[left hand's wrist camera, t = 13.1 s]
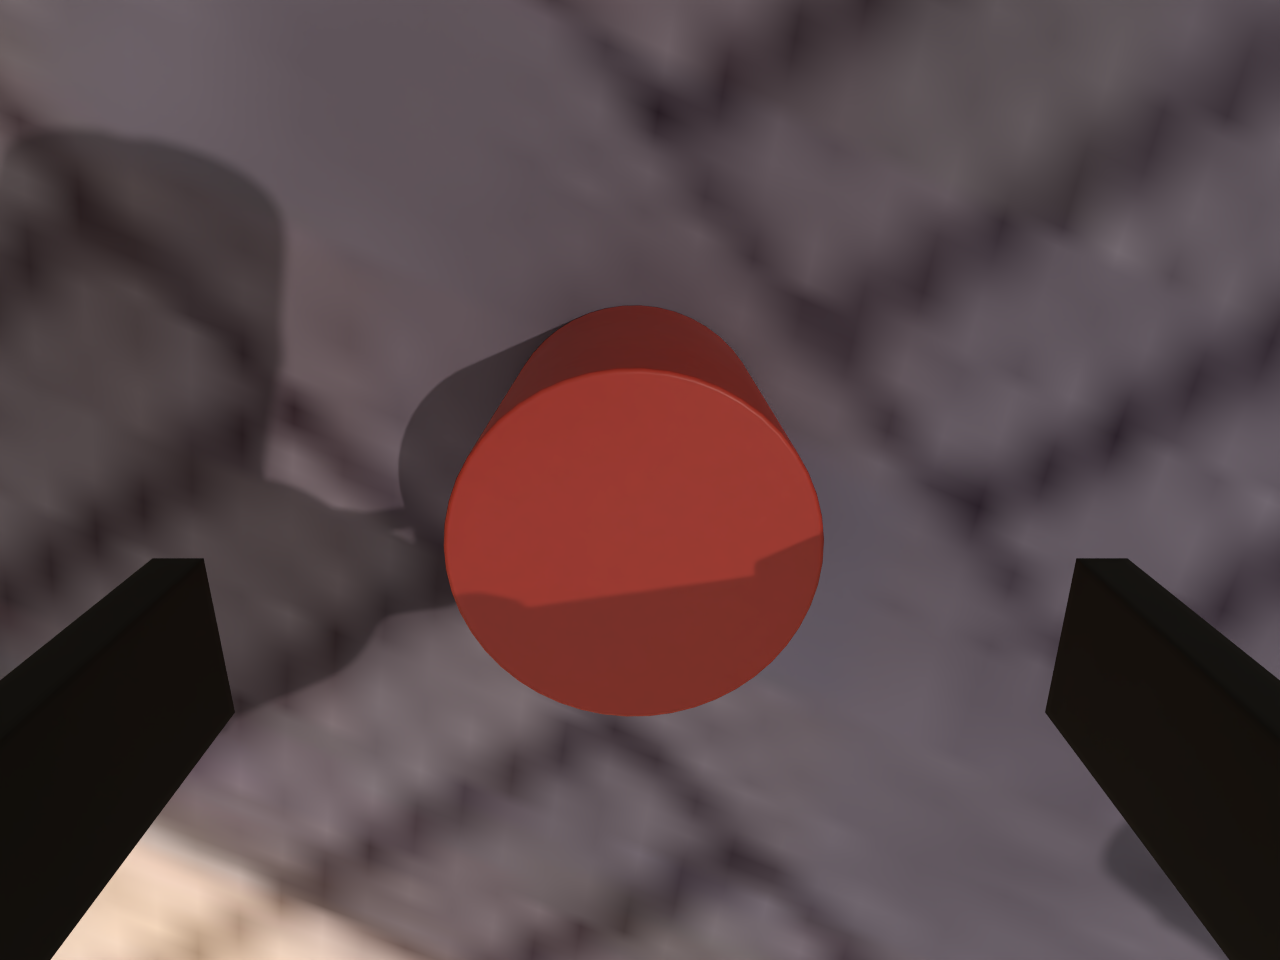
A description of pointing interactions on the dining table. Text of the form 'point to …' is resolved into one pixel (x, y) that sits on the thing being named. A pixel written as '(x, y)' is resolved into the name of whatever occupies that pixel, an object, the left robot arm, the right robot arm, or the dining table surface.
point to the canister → (633, 520)
